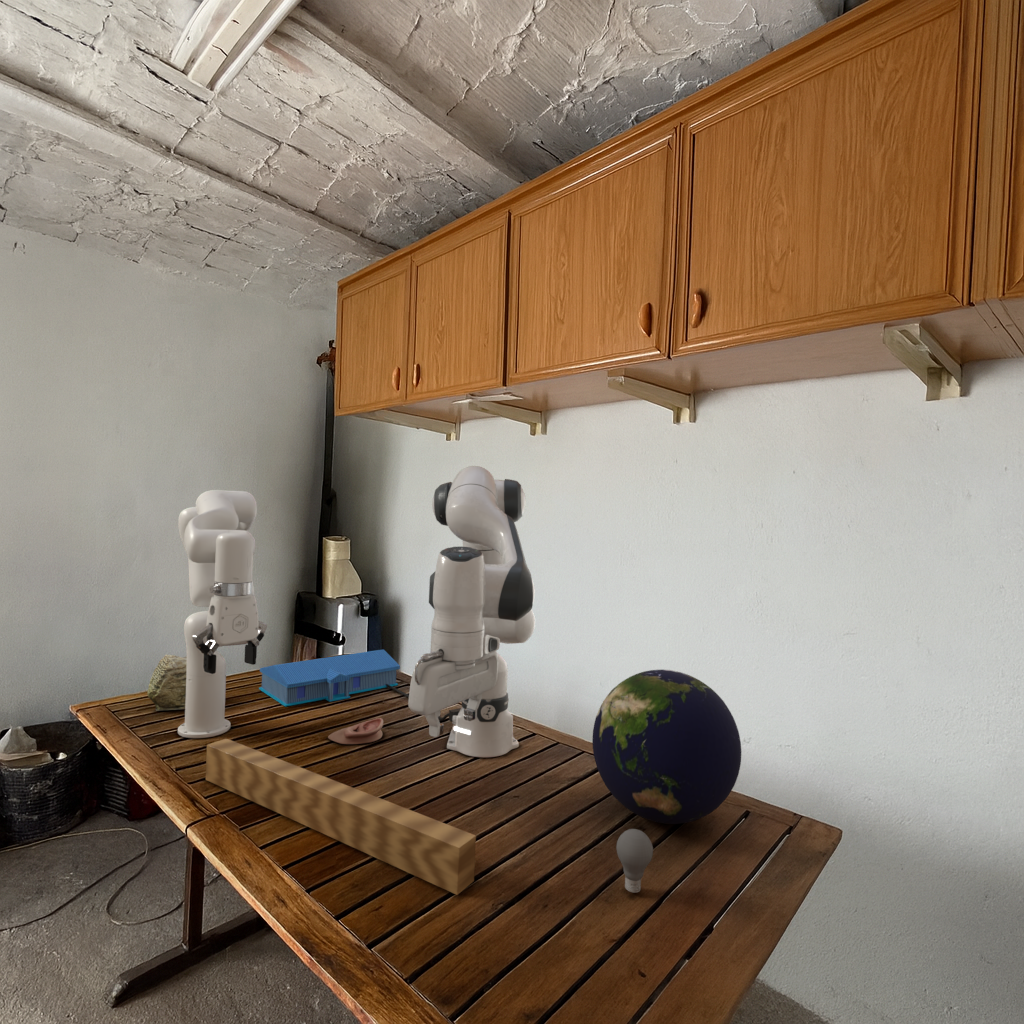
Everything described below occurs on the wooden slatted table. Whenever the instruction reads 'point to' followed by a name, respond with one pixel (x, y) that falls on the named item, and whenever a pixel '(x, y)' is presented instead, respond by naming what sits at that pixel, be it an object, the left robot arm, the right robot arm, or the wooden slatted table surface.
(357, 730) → the anatomical model
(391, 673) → the model building
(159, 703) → the fossil
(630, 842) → the light bulb
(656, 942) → the wooden slatted table surface
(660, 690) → the globe
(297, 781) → the bar
